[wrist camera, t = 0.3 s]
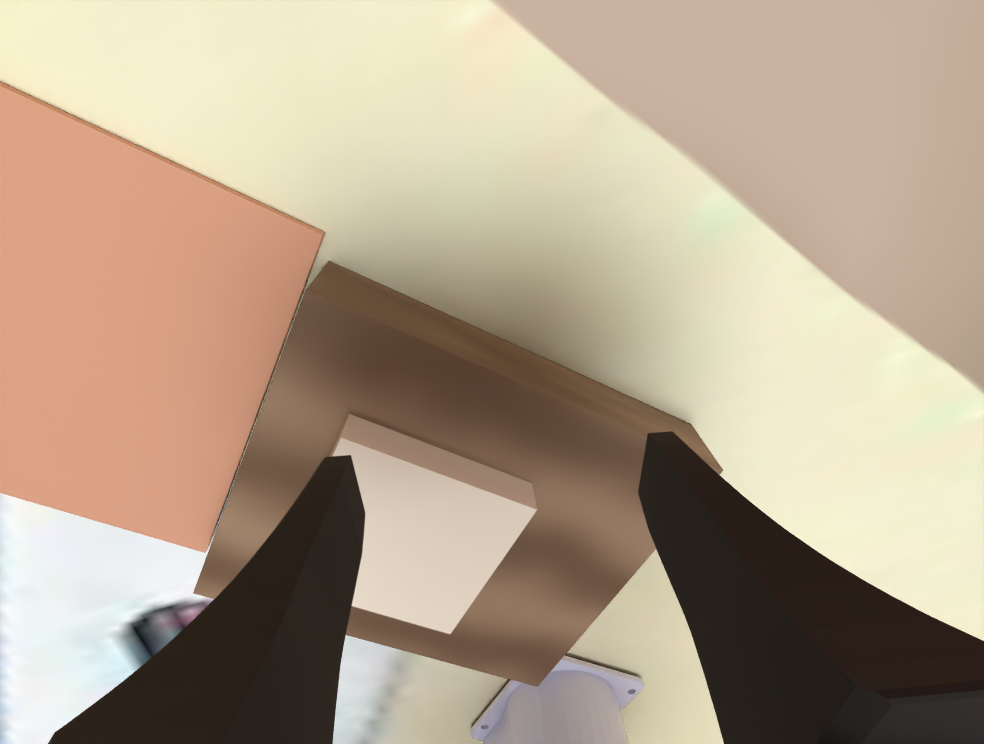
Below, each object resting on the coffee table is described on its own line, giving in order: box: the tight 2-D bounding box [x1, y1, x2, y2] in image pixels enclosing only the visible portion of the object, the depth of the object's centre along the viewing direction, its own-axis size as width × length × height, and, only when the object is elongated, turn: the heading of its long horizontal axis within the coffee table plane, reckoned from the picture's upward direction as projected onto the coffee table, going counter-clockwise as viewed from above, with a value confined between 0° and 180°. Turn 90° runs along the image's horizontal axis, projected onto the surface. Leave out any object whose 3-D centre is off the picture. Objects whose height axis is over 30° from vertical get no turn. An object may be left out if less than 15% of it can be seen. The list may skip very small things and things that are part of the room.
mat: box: [0, 82, 325, 552], centre depth 23 cm, size 18×12×1 cm, turn 153°
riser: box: [193, 261, 723, 687], centre depth 25 cm, size 16×18×4 cm
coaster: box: [330, 414, 537, 634], centre depth 22 cm, size 8×8×2 cm
